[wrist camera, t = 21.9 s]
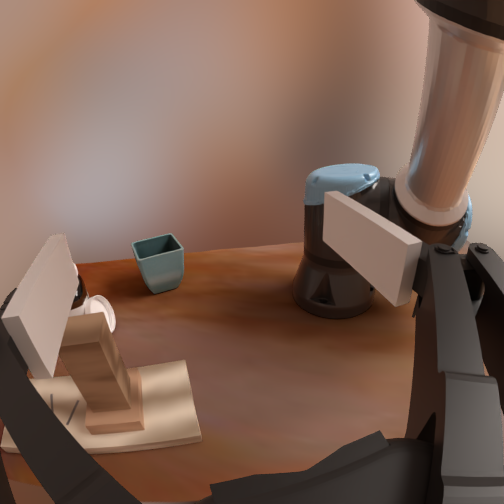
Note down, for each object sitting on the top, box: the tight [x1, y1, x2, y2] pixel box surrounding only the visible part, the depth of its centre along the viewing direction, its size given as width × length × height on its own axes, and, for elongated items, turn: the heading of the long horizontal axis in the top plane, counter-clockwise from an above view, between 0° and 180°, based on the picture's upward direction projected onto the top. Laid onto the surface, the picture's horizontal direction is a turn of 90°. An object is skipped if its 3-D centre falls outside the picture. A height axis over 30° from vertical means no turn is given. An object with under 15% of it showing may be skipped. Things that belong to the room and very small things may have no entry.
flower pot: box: [131, 233, 184, 294], centre depth 62 cm, size 9×9×9 cm
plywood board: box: [0, 360, 202, 454], centre depth 35 cm, size 13×28×2 cm, turn 106°
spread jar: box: [69, 263, 116, 333], centre depth 49 cm, size 12×11×12 cm
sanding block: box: [58, 312, 145, 435], centre depth 32 cm, size 9×7×13 cm
